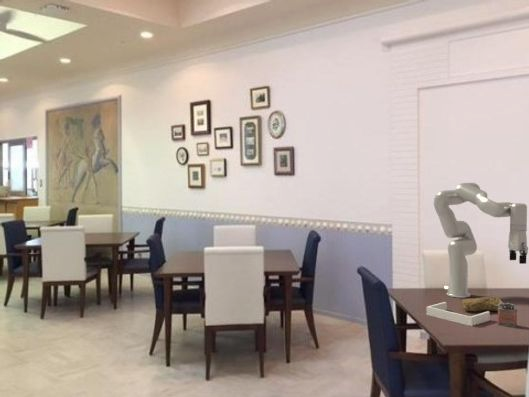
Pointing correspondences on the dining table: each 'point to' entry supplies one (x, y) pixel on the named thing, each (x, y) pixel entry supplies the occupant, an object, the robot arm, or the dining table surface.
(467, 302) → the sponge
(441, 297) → the dining table surface
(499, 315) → the lighter
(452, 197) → the robot arm
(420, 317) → the dining table surface
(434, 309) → the box
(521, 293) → the dining table surface
